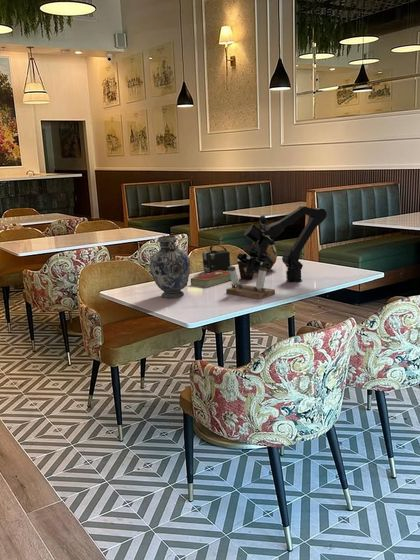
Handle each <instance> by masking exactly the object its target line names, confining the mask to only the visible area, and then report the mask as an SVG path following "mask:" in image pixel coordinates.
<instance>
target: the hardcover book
mask: <svg viewBox="0 0 420 560" xmlns="http://www.w3.org/2000/svg"><path fill="white" fill-rule="evenodd" d="M228 281H229V282H230V281H232V280H231V277H230V274H229V271H215V272H212V273H206V274H200V275H197V276H193V277H191V278H190V284H191V286H199V287H206V288H210V287H212V286H215V285H219V284H222V283H225V282H226V283H227V282H228Z"/></svg>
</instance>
